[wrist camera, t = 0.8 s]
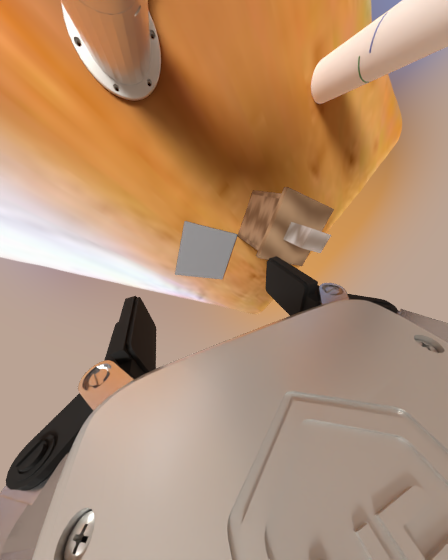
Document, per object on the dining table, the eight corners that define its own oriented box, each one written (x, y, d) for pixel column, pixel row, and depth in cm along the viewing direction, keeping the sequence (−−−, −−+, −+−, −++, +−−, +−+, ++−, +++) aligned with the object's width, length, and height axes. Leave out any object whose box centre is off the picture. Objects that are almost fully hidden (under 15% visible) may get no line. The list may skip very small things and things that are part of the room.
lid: (284, 187, 32) (312, 189, 26) (329, 208, 38) (359, 213, 32) (256, 255, 38) (273, 269, 32) (298, 264, 45) (319, 276, 39)
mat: (184, 221, 42) (185, 221, 41) (236, 234, 49) (237, 234, 48) (175, 273, 49) (175, 274, 48) (221, 278, 56) (222, 279, 55)
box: (253, 190, 44) (285, 194, 32) (287, 204, 49) (324, 211, 38) (237, 236, 49) (260, 252, 38) (269, 243, 55) (298, 260, 44)
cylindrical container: (340, 56, 35) (578, -102, 15) (332, 103, 39) (510, 25, 19) (314, 56, 34) (540, -120, 14) (308, 104, 38) (475, 22, 18)
